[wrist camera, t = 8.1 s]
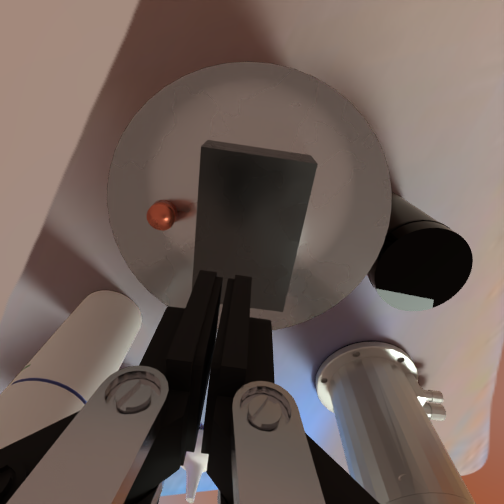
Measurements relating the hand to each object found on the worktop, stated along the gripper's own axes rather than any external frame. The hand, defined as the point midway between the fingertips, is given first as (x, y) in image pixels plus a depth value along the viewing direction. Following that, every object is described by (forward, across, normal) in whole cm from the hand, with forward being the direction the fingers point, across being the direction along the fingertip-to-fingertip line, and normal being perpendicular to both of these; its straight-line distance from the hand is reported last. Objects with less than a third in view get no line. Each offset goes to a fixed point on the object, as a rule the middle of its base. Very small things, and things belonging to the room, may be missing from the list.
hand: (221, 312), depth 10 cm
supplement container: (+22, -13, +2) cm, 26 cm away
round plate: (+9, 0, 0) cm, 9 cm away
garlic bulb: (+23, +2, +39) cm, 45 cm away
